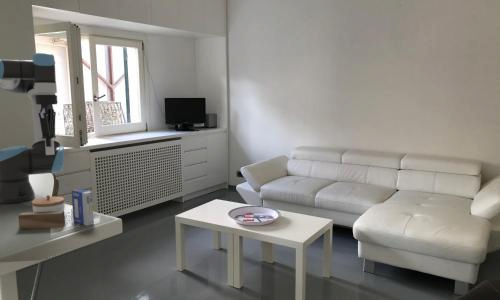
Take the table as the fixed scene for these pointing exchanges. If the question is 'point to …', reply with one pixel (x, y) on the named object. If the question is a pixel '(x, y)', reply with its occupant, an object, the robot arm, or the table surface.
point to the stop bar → (41, 220)
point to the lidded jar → (48, 204)
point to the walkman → (82, 207)
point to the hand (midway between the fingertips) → (50, 154)
